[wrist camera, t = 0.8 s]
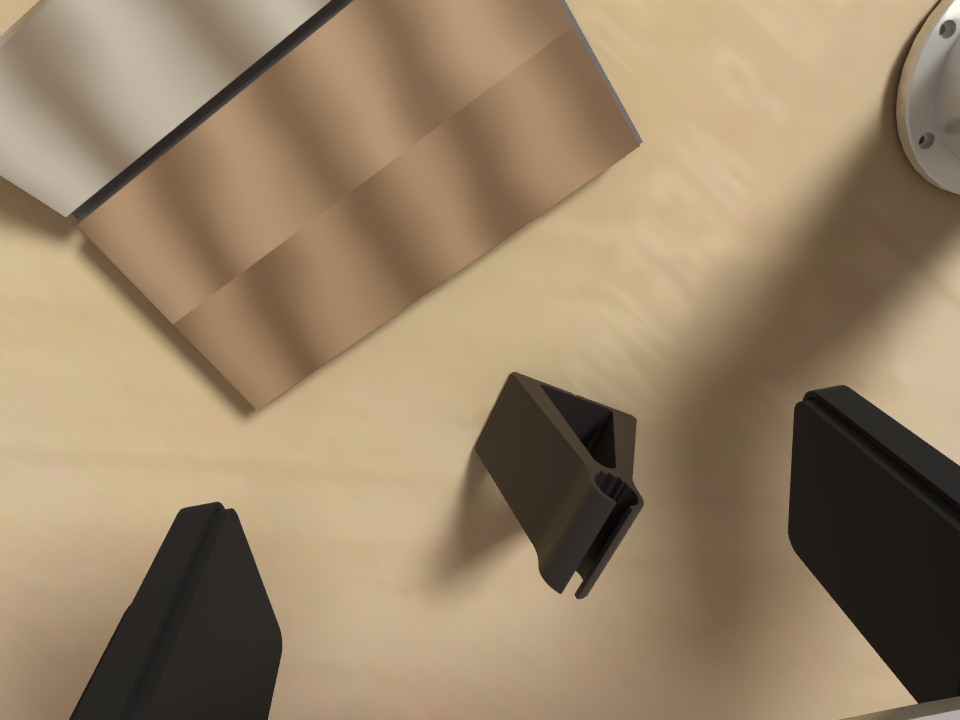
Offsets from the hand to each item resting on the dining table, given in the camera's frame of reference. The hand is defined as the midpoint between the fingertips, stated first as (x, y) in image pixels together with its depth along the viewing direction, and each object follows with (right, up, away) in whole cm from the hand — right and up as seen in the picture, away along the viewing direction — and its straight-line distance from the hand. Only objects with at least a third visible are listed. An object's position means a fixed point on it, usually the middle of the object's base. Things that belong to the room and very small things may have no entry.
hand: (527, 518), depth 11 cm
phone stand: (+4, -2, +33) cm, 33 cm away
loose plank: (-13, +19, +19) cm, 30 cm away
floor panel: (-9, +16, +24) cm, 30 cm away
